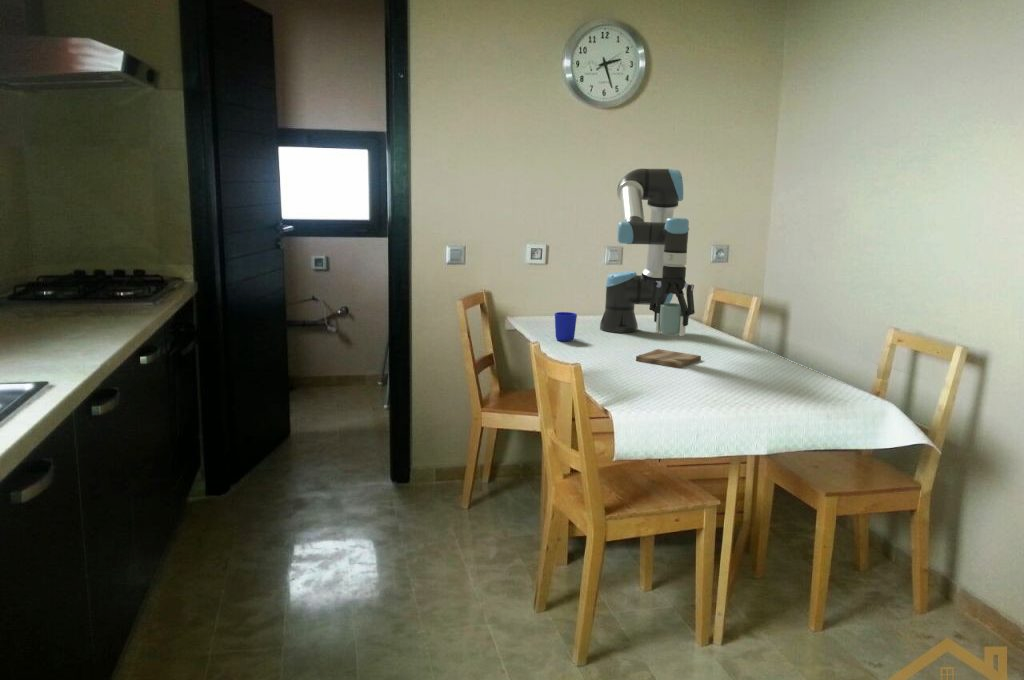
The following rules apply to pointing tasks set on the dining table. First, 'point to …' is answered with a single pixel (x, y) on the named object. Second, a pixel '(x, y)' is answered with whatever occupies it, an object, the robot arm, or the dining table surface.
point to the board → (668, 358)
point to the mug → (565, 326)
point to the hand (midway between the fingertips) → (670, 333)
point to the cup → (670, 318)
